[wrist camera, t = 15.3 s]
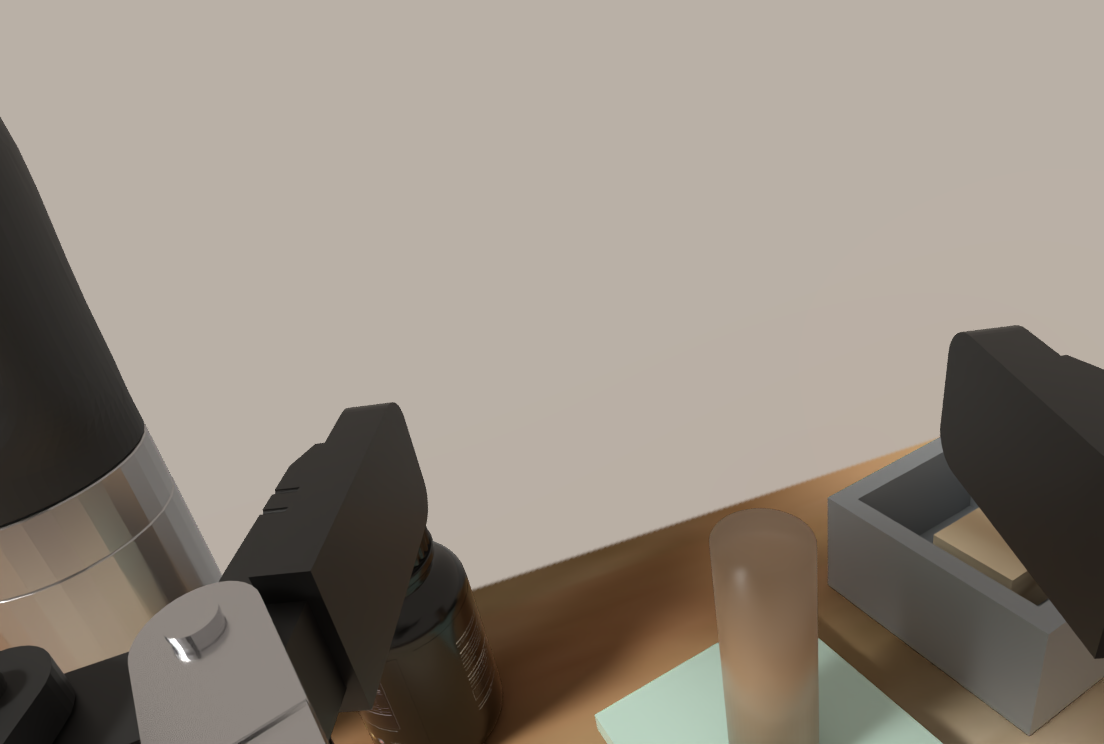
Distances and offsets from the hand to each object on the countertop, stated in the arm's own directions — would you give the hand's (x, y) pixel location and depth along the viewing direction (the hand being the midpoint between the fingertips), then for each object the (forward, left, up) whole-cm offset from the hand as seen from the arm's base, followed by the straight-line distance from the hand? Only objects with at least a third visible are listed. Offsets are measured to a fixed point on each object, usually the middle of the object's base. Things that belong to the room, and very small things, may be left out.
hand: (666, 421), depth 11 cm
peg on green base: (-2, +11, -25) cm, 27 cm away
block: (+6, +24, -24) cm, 34 cm away
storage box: (+6, +24, -25) cm, 35 cm away
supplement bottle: (-18, +8, -25) cm, 31 cm away
